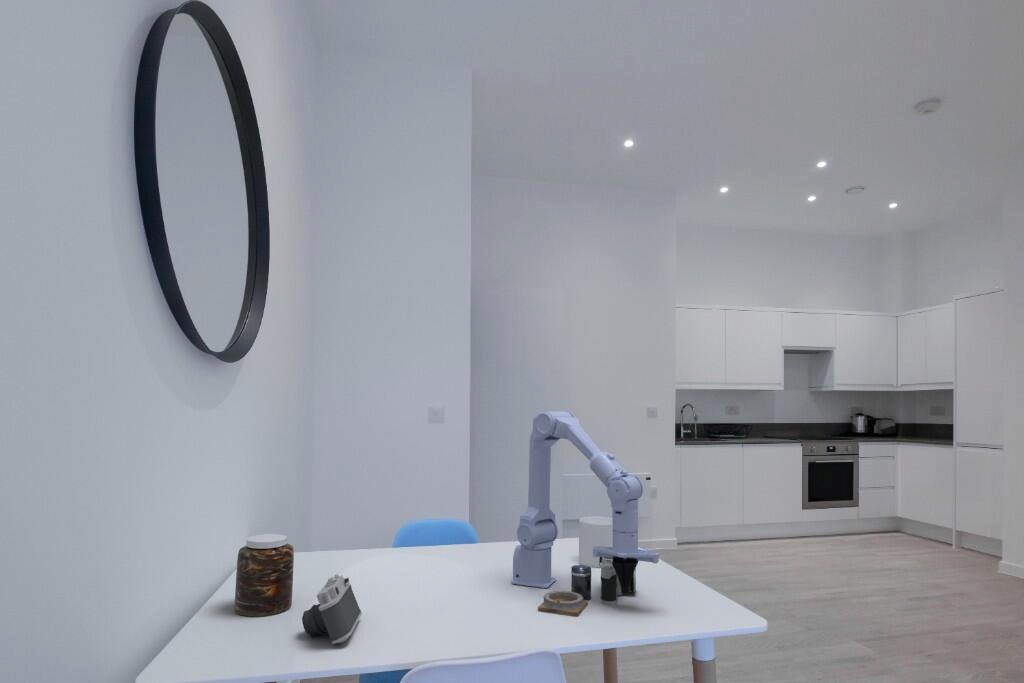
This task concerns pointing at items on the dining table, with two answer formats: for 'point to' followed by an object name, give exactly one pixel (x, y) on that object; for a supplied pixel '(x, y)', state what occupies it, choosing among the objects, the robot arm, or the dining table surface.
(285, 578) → the jar
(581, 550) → the cup
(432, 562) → the dining table surface
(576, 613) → the mount
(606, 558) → the camera
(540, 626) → the dining table surface
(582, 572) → the lens
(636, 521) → the robot arm
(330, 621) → the camera
